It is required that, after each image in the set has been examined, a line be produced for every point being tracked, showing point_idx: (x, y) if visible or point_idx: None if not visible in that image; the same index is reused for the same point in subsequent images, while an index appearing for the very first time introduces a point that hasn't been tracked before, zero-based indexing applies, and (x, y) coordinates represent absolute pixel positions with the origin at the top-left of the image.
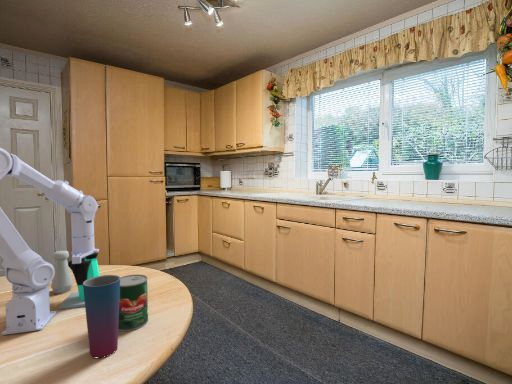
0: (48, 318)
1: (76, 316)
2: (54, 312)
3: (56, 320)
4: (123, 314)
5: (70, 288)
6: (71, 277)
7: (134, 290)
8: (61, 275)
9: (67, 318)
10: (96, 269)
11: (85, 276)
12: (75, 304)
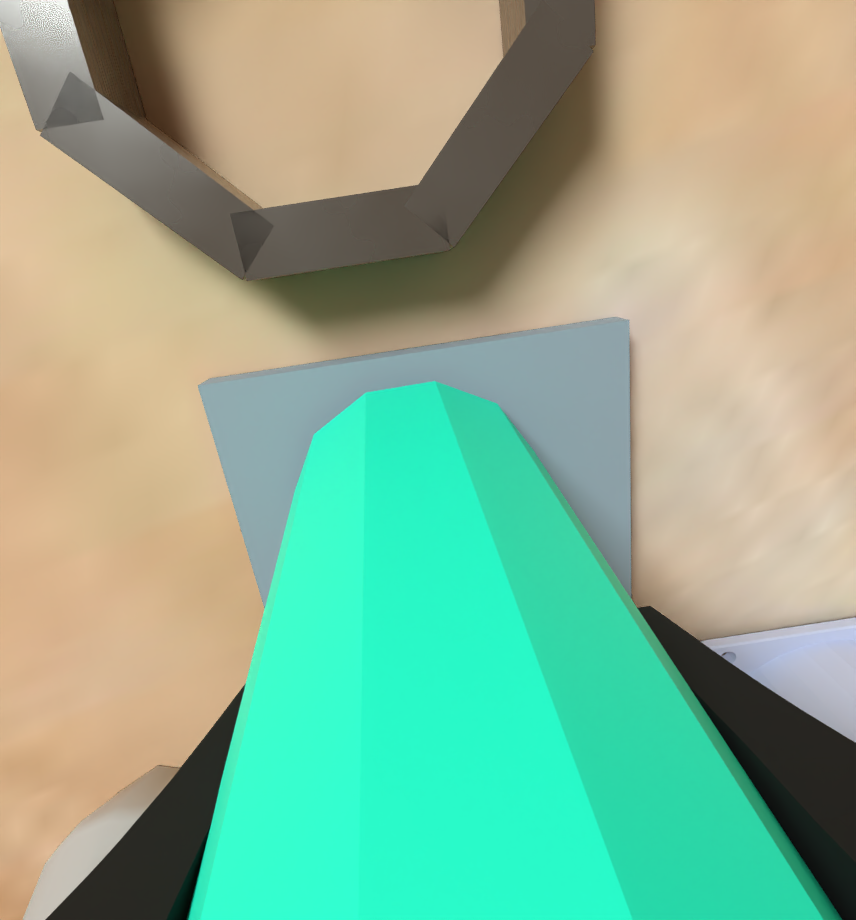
0: (841, 638)
1: (829, 445)
2: (730, 650)
3: (841, 573)
4: None
5: (148, 777)
6: (55, 898)
7: None
8: None
9: (839, 505)
10: (557, 650)
11: (772, 707)
12: (617, 556)
